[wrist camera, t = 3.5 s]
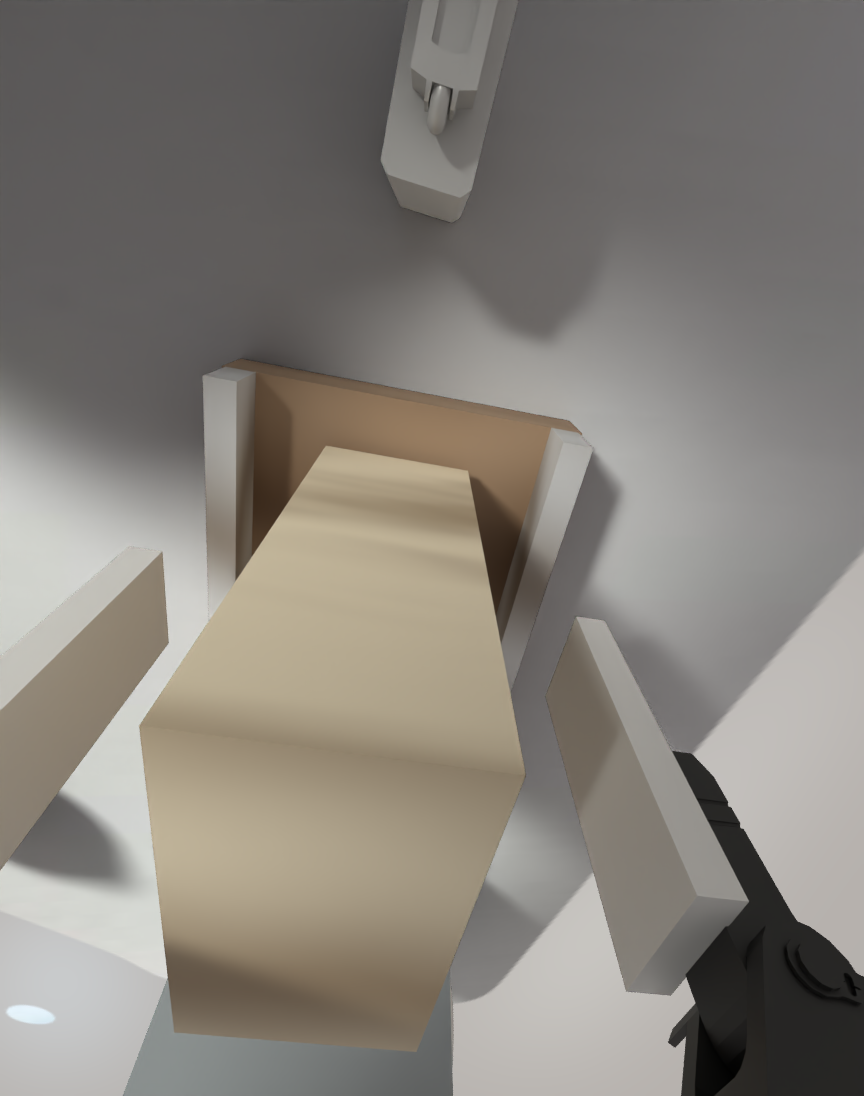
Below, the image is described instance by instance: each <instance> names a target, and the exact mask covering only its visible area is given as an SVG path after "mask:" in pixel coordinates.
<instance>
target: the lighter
mask: <svg viewBox="0 0 864 1096" xmlns="http://www.w3.org/2000/svg"><path fill="white" fill-rule="evenodd" d="M518 1H519V0H409V1H408V6H407V12H406V18H405V23H404V29H403V35H402V41H401V46H400V52H399V58H398V63H397V69H396V75H395V80H394V86H393V92H392V97H391V103H390V109H389V115H388V120H387V126H386V132H385V137H384V143H383V149H382V154H381V163H382V165H383V168H384V170H385V172H386V175H387V177H388V180H389V182H390V185H391V187H392V189H393V192H394V194H395V197H396V199H397V201H398V203H399V205H400V207H403V208H406V209H409V210H412V211H415V212H419V213H422V214H425V215H428V216H431V217H434V218H438V219H441V220H444V221H447V222H450V223H453V222H454V221H456V220H457V219H459V218H460V217H461V215H462V212H463V210H464V207H465V205H466V202H467V200H468V198H469V195H470V193H471V190H472V186H473V182H474V178H475V174H476V170H477V166H478V162H479V158H480V154H481V150H482V146H483V142H484V138H485V134H486V130H487V126H488V122H489V118H490V114H491V110H492V106H493V102H494V98H495V94H496V90H497V86H498V82H499V78H500V73H501V69H502V65H503V61H504V57H505V53H506V49H507V45H508V41H509V37H510V33H511V29H512V25H513V21H514V17H515V13H516V9H517V5H518Z"/></svg>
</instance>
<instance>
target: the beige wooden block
mask: <svg viewBox="0 0 864 1096" xmlns="http://www.w3.org/2000/svg"><path fill="white" fill-rule="evenodd" d="M139 728H140V737H141V746H142V755H143V763H144V772H145V781H146V790H147V799H148V807H149V816H150V825H151V834H152V842H153V851H154V860H155V869H156V877H157V886H158V895H159V904H160V913H161V921H162V930H163V939H164V948H165V956H166V965H167V974H168V983H169V991H170V1000H171V1009H172V1018H173V1027H174V1033H186V1034H198V1035H211V1036H223V1037H236V1038H248V1039H261V1040H273V1041H286V1042H298V1043H311V1044H323V1045H335V1046H348V1047H360V1048H373V1049H385V1050H398V1051H410V1052H417V1049H418V1047H419V1044H420V1042H421V1039H422V1037H423V1034H424V1031H425V1029H426V1026H427V1024H428V1021H429V1019H430V1016H431V1014H432V1011H433V1009H434V1006H435V1004H436V1001H437V999H438V996H439V994H440V991H441V989H442V986H443V984H444V981H445V978H446V976H447V973H448V971H449V968H450V966H451V963H452V961H453V958H454V956H455V953H456V951H457V948H458V946H459V943H460V941H461V938H462V936H463V933H464V931H465V928H466V925H467V923H468V920H469V918H470V915H471V913H472V910H473V908H474V905H475V903H476V900H477V898H478V895H479V893H480V890H481V888H482V885H483V883H484V880H485V878H486V875H487V872H488V870H489V867H490V865H491V862H492V860H493V857H494V855H495V852H496V850H497V847H498V845H499V842H500V840H501V837H502V835H503V832H504V830H505V827H506V825H507V822H508V819H509V817H510V814H511V812H512V809H513V807H514V804H515V802H516V799H517V797H518V794H519V792H520V789H521V787H522V784H523V782H524V779H525V777H526V773H525V768H524V763H523V757H522V752H521V747H520V742H519V736H518V731H517V726H516V721H515V715H514V710H513V705H512V700H511V694H510V689H509V684H508V679H507V673H506V668H505V663H504V658H503V652H502V647H501V642H500V637H499V631H498V626H497V621H496V616H495V610H494V605H493V600H492V595H491V589H490V584H489V579H488V574H487V568H486V563H485V558H484V553H483V547H482V542H481V537H480V532H479V526H478V521H477V516H476V511H475V505H474V500H473V495H472V490H471V484H470V479H469V474H468V471H466V470H461V469H455V468H449V467H444V466H438V465H432V464H427V463H421V462H416V461H410V460H404V459H399V458H393V457H387V456H382V455H376V454H371V453H365V452H359V451H354V450H348V449H342V448H337V447H331V446H325V448H324V449H323V451H322V452H321V454H320V455H319V457H318V458H317V460H316V461H315V463H314V464H313V466H312V467H311V469H310V470H309V472H308V473H307V475H306V476H305V478H304V479H303V481H302V482H301V484H300V485H299V487H298V488H297V490H296V491H295V493H294V494H293V496H292V497H291V499H290V500H289V502H288V503H287V505H286V506H285V508H284V509H283V511H282V512H281V514H280V515H279V517H278V518H277V520H276V521H275V523H274V524H273V526H272V527H271V529H270V530H269V532H268V533H267V535H266V536H265V538H264V539H263V541H262V542H261V544H260V545H259V547H258V548H257V550H256V551H255V553H254V554H253V556H252V557H251V559H250V560H249V562H248V563H247V565H246V566H245V568H244V569H243V571H242V572H241V574H240V575H239V577H238V578H237V580H236V581H235V583H234V584H233V586H232V587H231V589H230V590H229V592H228V593H227V595H226V596H225V598H224V599H223V601H222V602H221V604H220V605H219V607H218V608H217V610H216V611H215V613H214V614H213V616H212V617H211V619H210V620H209V622H208V623H207V625H206V626H205V628H204V629H203V631H202V632H201V634H200V635H199V637H198V638H197V640H196V641H195V643H194V644H193V646H192V647H191V649H190V650H189V652H188V653H187V655H186V656H185V658H184V659H183V661H182V662H181V664H180V665H179V667H178V668H177V670H176V671H175V673H174V674H173V676H172V677H171V679H170V680H169V682H168V683H167V685H166V686H165V688H164V689H163V691H162V692H161V694H160V695H159V697H158V698H157V700H156V701H155V703H154V704H153V706H152V707H151V709H150V710H149V712H148V713H147V715H146V716H145V718H144V719H143V721H142V722H141V724H140V725H139Z"/></svg>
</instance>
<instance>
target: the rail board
mask: <svg viewBox="0 0 864 1096" xmlns="http://www.w3.org/2000/svg"><path fill="white" fill-rule="evenodd" d="M203 409H204V451H205V493H206V535H207V577H208V619H209V620H210V619H211V617H212V616H213V614H214V613H215V611H216V610H217V608H218V607H219V605H220V604H221V602H222V601H223V599H224V598H225V596H226V595H227V593H228V592H229V590H230V589H231V587H232V586H233V584H234V583H235V581H236V580H237V578H238V577H239V575H240V574H241V572H242V571H243V569H244V568H245V566H246V565H247V563H248V562H249V560H250V559H251V557H252V556H253V554H254V553H255V551H256V550H257V548H258V547H259V545H260V544H261V542H262V541H263V539H264V538H265V536H266V535H267V533H268V532H269V530H270V529H271V527H272V526H273V524H274V523H275V521H276V520H277V518H278V517H279V515H280V514H281V512H282V511H283V509H284V508H285V506H286V505H287V503H288V502H289V500H290V499H291V497H292V496H293V494H294V493H295V491H296V490H297V488H298V487H299V485H300V484H301V482H302V481H303V479H304V478H305V476H306V475H307V473H308V472H309V470H310V469H311V467H312V466H313V464H314V463H315V461H316V460H317V458H318V457H319V455H320V454H321V452H322V451H323V449H324V448H325V446H331V447H337V448H342V449H348V450H354V451H359V452H365V453H371V454H376V455H382V456H387V457H393V458H399V459H404V460H410V461H416V462H421V463H427V464H432V465H438V466H444V467H449V468H455V469H461V470H466V471H468V474H469V479H470V484H471V490H472V495H473V500H474V505H475V511H476V516H477V521H478V526H479V532H480V537H481V542H482V547H483V553H484V558H485V563H486V568H487V574H488V579H489V584H490V589H491V595H492V600H493V605H494V610H495V616H496V621H497V626H498V631H499V637H500V642H501V647H502V652H503V658H504V663H505V668H506V673H507V679H508V684H509V689H510V693H511V691H512V688H513V685H514V682H515V679H516V676H517V673H518V670H519V667H520V664H521V661H522V658H523V655H524V652H525V649H526V646H527V643H528V640H529V637H530V634H531V631H532V628H533V626H534V623H535V620H536V617H537V614H538V611H539V608H540V605H541V602H542V599H543V596H544V593H545V590H546V587H547V584H548V581H549V578H550V575H551V572H552V569H553V566H554V563H555V561H556V558H557V555H558V552H559V549H560V546H561V543H562V540H563V537H564V534H565V531H566V528H567V525H568V522H569V519H570V516H571V513H572V510H573V507H574V504H575V501H576V498H577V495H578V493H579V490H580V487H581V484H582V481H583V478H584V475H585V472H586V469H587V466H588V463H589V460H590V457H591V454H592V451H593V447H592V446H591V445H590V444H589V443H588V442H587V441H586V440H585V439H584V438H583V437H582V436H581V435H582V433H581V432H580V431H579V430H578V429H577V428H576V427H575V426H574V425H573V424H572V423H571V422H570V421H567V420H562V419H557V418H551V417H546V416H541V415H536V414H530V413H525V412H520V411H514V410H509V409H504V408H499V407H493V406H488V405H483V404H477V403H472V402H467V401H462V400H456V399H451V398H446V397H440V396H435V395H430V394H425V393H419V392H414V391H409V390H403V389H398V388H393V387H388V386H382V385H377V384H372V383H366V382H361V381H356V380H351V379H345V378H340V377H335V376H329V375H324V374H319V373H314V372H308V371H303V370H298V369H292V368H287V367H282V366H277V365H271V364H266V363H261V362H255V361H250V360H245V359H238V360H236V361H233V362H231V363H228V364H225V365H223V366H222V368H221V369H218V370H216V371H213V372H210V373H208V374H205V375H203Z"/></svg>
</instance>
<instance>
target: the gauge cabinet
mask: <svg viewBox="0 0 864 1096" xmlns="http://www.w3.org/2000/svg"><path fill="white" fill-rule="evenodd" d="M452 1065H453V1000H452V989H451V981H450V968H449V971H448V973H447V976H446V978H445V981H444V984H443V986H442V989H441V991H440V994H439V996H438V999H437V1001H436V1004H435V1006H434V1009H433V1011H432V1014H431V1016H430V1019H429V1021H428V1024H427V1026H426V1029H425V1031H424V1034H423V1037H422V1039H421V1042H420V1044H419V1047H418V1049H417V1052H410V1051H398V1050H385V1049H373V1048H360V1047H348V1046H335V1045H323V1044H311V1043H298V1042H286V1041H273V1040H261V1039H248V1038H236V1037H223V1036H211V1035H198V1034H186V1033H174V1027H173V1018H172V1009H171V1000H170V991H169V983H168V979H167V981H166V984H165V987H164V989H163V992H162V995H161V997H160V1000H159V1003H158V1005H157V1008H156V1010H155V1013H154V1015H153V1018H152V1021H151V1023H150V1026H149V1028H148V1031H147V1034H146V1036H145V1039H144V1042H143V1044H142V1047H141V1050H140V1052H139V1055H138V1057H137V1060H136V1063H135V1065H134V1068H133V1071H132V1073H131V1076H130V1078H129V1081H128V1083H127V1086H126V1089H125V1091H124V1094H123V1096H453V1083H452Z"/></svg>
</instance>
